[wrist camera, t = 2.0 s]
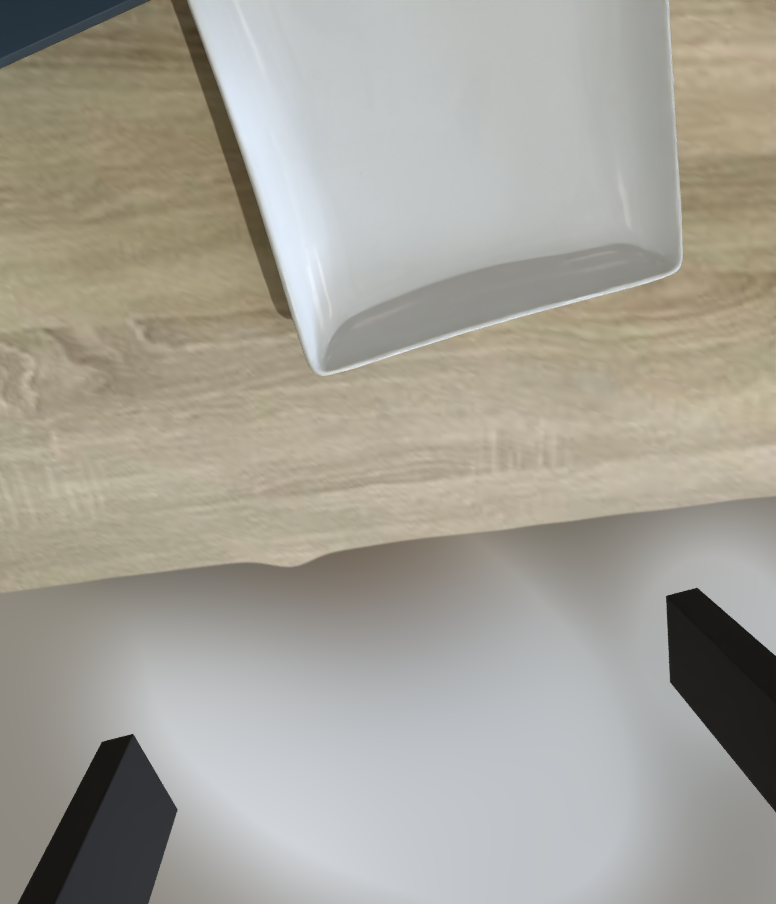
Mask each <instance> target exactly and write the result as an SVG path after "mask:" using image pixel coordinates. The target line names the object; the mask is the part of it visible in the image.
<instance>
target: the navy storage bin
mask: <svg viewBox="0 0 776 904" xmlns="http://www.w3.org/2000/svg"><path fill="white" fill-rule="evenodd" d="M147 1H149V0H0V68H2V67H4V66H6V65H9V64H11V63H13V62H15V61H17V60H20V59H22V58H24V57H26V56H28V55H31V54H33V53H35V52H37V51H39V50H42V49H44V48H46V47H48V46H50V45H53V44H55V43H57V42H59V41H61V40H64V39H66V38H68V37H70V36H72V35H75V34H77V33H79V32H81V31H83V30H86V29H88V28H90V27H92V26H94V25H97V24H99V23H101V22H103V21H105V20H108V19H110V18H112V17H114V16H116V15H119V14H121V13H123V12H125V11H127V10H130V9H132V8H134V7H136V6H138V5H141V4H143V3H145V2H147Z"/></svg>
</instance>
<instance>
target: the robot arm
mask: <svg viewBox="0 0 776 904" xmlns="http://www.w3.org/2000/svg"><path fill="white" fill-rule="evenodd" d="M666 603H667V624H668V645H669V668H670V682H671V684H672V685H673V686H674V687H675V689H676V690H677V691H678V692H679V694H680V695H681V696H682V697H683V698H684V700H685V701H686V702H687V703H688V704H689V706H690V707H691V708H692V710H693V711H694V712H695V713H696V714H697V716H698V717H699V718H700V719H701V721H702V722H703V723H704V724H705V726H706V727H707V728H708V729H709V730H710V732H711V733H712V734H713V735H714V736H715V738H716V739H717V740H718V741H719V743H720V744H721V745H722V746H723V748H724V749H725V750H726V751H727V753H728V754H729V755H730V756H731V758H732V759H733V760H734V761H735V762H736V764H737V765H738V766H739V767H740V769H741V770H742V771H743V772H744V774H745V775H746V776H747V777H748V779H749V780H750V781H751V782H752V783H753V785H754V786H755V787H756V788H757V790H758V791H759V792H760V793H761V795H762V796H763V797H764V798H765V799H766V800H767V802H768V803H769V804H770V806H771V807H772V808H773V809H774V811H775V812H776V656H775V655H774V654H773V653H772V652H770V651H769V650H768V649H767V648H766V647H765V646H763V645H762V644H761V643H760V642H759V641H758V640H757V639H755V638H754V637H753V636H752V635H751V634H750V633H749V632H747V631H746V630H745V629H744V628H743V627H741V626H740V625H739V624H738V623H737V622H736V621H735V620H734V619H732V618H731V617H730V616H729V615H728V614H727V613H725V612H724V611H723V610H722V609H721V608H720V607H719V606H717V605H716V604H715V603H714V602H713V601H712V600H711V599H709V598H708V597H707V596H706V595H705V594H704V593H702V592H701V591H700V590H699V589H698V588H695V589H691V590H687V591H683V592H679V593H675V594H672V595H668V596H666ZM176 813H177V808H176V806H175V804H174V803H173V801H172V799H171V798H170V796H169V794H168V793H167V791H166V789H165V788H164V786H163V784H162V782H161V781H160V779H159V777H158V776H157V774H156V772H155V770H154V769H153V767H152V765H151V764H150V762H149V760H148V758H147V757H146V755H145V753H144V752H143V750H142V748H141V746H140V745H139V743H138V741H137V740H136V738H135V736H134V735H133V734H131V735H127V736H123V737H119V738H115V739H111V740H107V741H104V742H102V743H101V745H100V747H99V749H98V751H97V752H96V754H95V756H94V758H93V760H92V762H91V764H90V766H89V768H88V770H87V772H86V774H85V775H84V777H83V779H82V781H81V783H80V785H79V787H78V789H77V791H76V793H75V795H74V797H73V799H72V800H71V802H70V804H69V806H68V808H67V810H66V812H65V814H64V816H63V818H62V820H61V822H60V823H59V826H58V827H57V829H56V831H55V833H54V835H53V837H52V839H51V841H50V843H49V845H48V847H47V848H46V850H45V852H44V854H43V856H42V858H41V860H40V862H39V864H38V866H37V868H36V870H35V871H34V873H33V875H32V877H31V879H30V881H29V883H28V885H27V887H26V889H25V891H24V893H23V895H22V896H21V898H20V900H19V902H18V904H148V903H149V899H150V896H151V893H152V890H153V887H154V884H155V880H156V877H157V874H158V871H159V868H160V864H161V861H162V858H163V855H164V851H165V848H166V845H167V842H168V839H169V835H170V832H171V829H172V826H173V823H174V819H175V816H176Z"/></svg>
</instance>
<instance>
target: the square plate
mask: <svg viewBox="0 0 776 904" xmlns="http://www.w3.org/2000/svg"><path fill="white" fill-rule="evenodd" d="M187 2H188V5H189V8H190V11H191V13H192V16H193V19H194V22H195V24H196V27H197V30H198V32H199V35H200V38H201V41H202V43H203V46H204V49H205V52H206V55H207V57H208V60H209V63H210V66H211V69H212V71H213V74H214V77H215V80H216V82H217V85H218V88H219V91H220V94H221V97H222V100H223V102H224V105H225V108H226V111H227V114H228V117H229V120H230V123H231V126H232V129H233V131H234V134H235V137H236V140H237V143H238V146H239V149H240V152H241V155H242V158H243V161H244V164H245V167H246V170H247V173H248V176H249V179H250V182H251V185H252V188H253V191H254V194H255V197H256V201H257V204H258V207H259V210H260V214H261V217H262V220H263V223H264V226H265V230H266V233H267V236H268V239H269V243H270V246H271V249H272V252H273V256H274V259H275V262H276V266H277V269H278V272H279V275H280V279H281V283H282V286H283V289H284V293H285V296H286V299H287V302H288V306H289V309H290V312H291V316H292V319H293V322H294V326H295V329H296V331H297V334H298V338H299V340H300V343H301V347H302V350H303V353H304V355H305V358H306V360H307V363H308V365H309V367H310V368H311V370H312V371H313V372H314V373H315V374H317V375H320V376H324V375H331V374H334V373H338V372H342V371H346V370H350V369H353V368H357V367H360V366H363V365H366V364H369V363H372V362H375V361H378V360H381V359H384V358H387V357H390V356H393V355H397V354H400V353H403V352H406V351H409V350H412V349H415V348H419V347H422V346H425V345H428V344H431V343H434V342H438V341H441V340H444V339H447V338H450V337H453V336H456V335H459V334H463V333H466V332H470V331H473V330H476V329H480V328H483V327H486V326H490V325H494V324H497V323H501V322H504V321H508V320H511V319H515V318H518V317H522V316H525V315H529V314H533V313H537V312H541V311H544V310H548V309H552V308H556V307H559V306H563V305H567V304H571V303H574V302H577V301H582V300H586V299H590V298H594V297H598V296H601V295H605V294H609V293H612V292H616V291H620V290H623V289H627V288H631V287H635V286H639V285H642V284H645V283H649V282H652V281H655V280H658V279H661V278H664V277H667V276H669V275H671V274H673V273H675V272H676V271H677V270H678V269H679V268H680V267H681V263H682V258H683V244H682V220H681V199H680V182H679V166H678V151H677V136H676V120H675V105H674V84H673V68H672V52H671V37H670V17H669V0H187Z"/></svg>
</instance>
